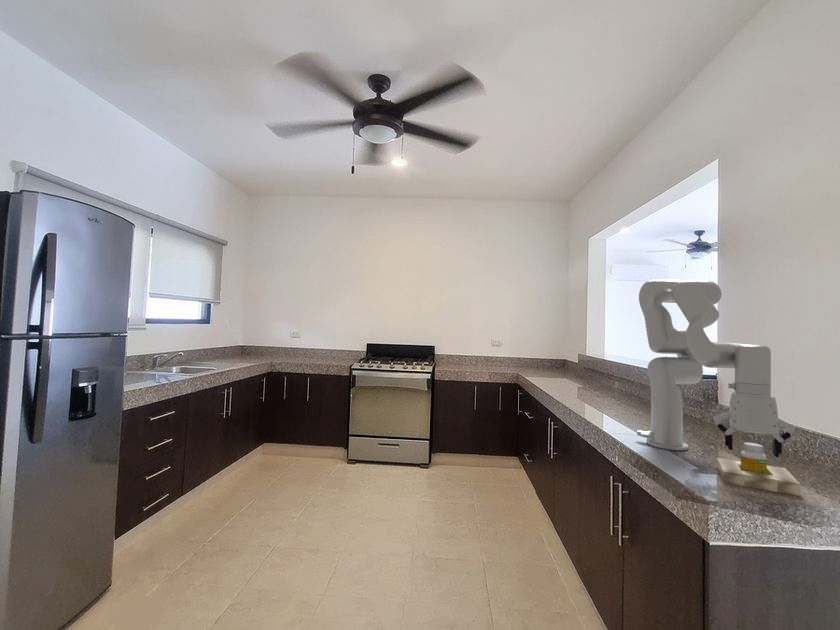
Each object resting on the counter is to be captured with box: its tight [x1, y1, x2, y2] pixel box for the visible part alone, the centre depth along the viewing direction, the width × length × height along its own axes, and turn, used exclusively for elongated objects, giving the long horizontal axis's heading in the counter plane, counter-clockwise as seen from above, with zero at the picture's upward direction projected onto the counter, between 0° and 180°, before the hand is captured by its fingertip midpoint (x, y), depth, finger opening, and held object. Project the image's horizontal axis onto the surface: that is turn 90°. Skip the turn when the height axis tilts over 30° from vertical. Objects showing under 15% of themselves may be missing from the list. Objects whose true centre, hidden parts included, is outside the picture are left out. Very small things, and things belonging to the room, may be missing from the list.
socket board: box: [716, 457, 801, 497], centre depth 105 cm, size 15×14×3 cm
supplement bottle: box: [740, 442, 768, 475], centre depth 106 cm, size 5×5×10 cm
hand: (752, 452), depth 106 cm, fingers open, 9 cm apart
